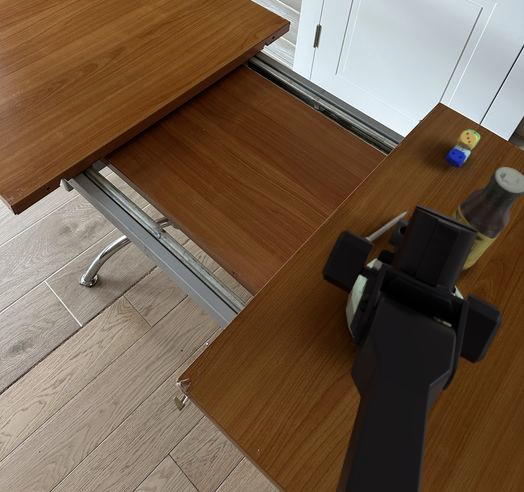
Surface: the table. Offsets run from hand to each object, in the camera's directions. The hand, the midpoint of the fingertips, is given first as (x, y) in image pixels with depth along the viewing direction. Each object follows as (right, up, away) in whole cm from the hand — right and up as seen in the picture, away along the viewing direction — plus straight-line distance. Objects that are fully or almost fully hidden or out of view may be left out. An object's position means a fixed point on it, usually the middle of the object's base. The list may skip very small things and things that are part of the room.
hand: (410, 277), depth 65 cm
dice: (+16, +14, +27) cm, 35 cm away
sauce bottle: (+10, -1, +13) cm, 17 cm away
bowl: (0, -7, +6) cm, 10 cm away
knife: (-2, +2, +14) cm, 15 cm away
